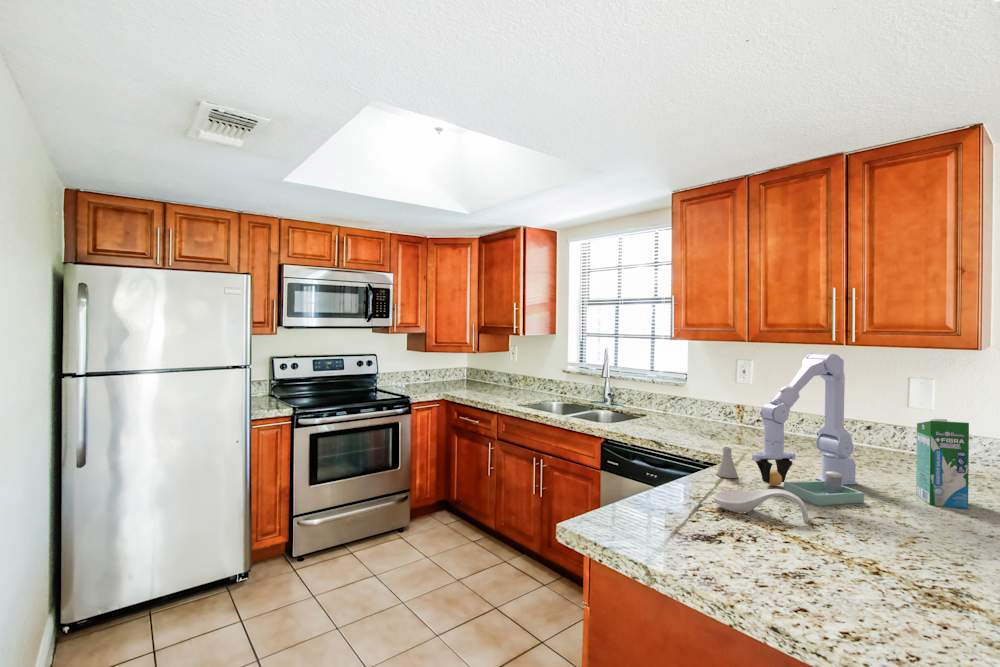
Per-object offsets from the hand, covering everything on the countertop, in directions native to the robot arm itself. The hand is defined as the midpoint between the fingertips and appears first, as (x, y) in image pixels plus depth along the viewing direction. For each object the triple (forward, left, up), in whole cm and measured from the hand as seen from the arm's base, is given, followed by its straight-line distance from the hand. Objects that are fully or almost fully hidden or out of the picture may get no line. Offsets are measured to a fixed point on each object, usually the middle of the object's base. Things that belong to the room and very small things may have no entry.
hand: (773, 481), depth 165 cm
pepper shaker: (-11, +12, -1) cm, 16 cm away
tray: (-7, +12, -1) cm, 14 cm away
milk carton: (-39, +22, -2) cm, 45 cm away
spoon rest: (+22, +21, -2) cm, 30 cm away
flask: (+8, -13, -2) cm, 15 cm away
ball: (0, 0, +1) cm, 1 cm away
